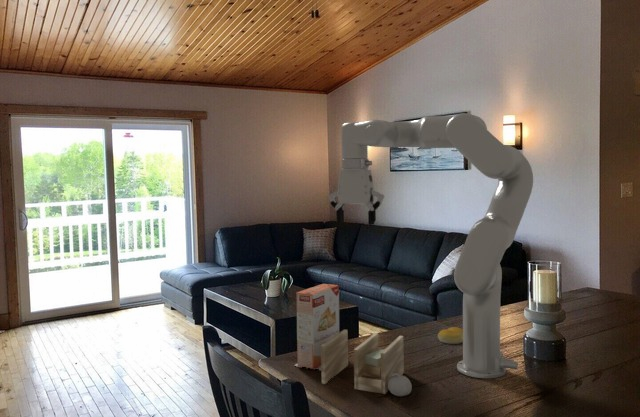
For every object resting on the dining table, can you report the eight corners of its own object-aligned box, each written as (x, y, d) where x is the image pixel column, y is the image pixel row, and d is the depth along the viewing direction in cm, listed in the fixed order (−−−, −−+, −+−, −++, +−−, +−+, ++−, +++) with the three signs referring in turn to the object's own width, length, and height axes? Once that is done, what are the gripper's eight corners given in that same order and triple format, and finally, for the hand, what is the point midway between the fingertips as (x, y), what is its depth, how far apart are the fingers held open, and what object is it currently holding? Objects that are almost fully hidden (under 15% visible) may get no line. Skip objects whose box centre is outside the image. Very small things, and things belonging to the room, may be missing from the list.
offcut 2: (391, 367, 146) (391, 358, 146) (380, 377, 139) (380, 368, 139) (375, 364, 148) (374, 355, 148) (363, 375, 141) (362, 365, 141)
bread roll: (432, 340, 177) (432, 327, 177) (453, 335, 181) (453, 323, 181) (451, 346, 170) (451, 334, 170) (472, 341, 174) (472, 329, 174)
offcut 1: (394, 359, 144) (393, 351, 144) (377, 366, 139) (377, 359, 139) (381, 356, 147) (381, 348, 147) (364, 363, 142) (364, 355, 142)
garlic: (383, 396, 134) (382, 374, 134) (393, 388, 139) (392, 367, 138) (406, 401, 131) (405, 379, 130) (415, 393, 135) (415, 372, 135)
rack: (403, 373, 149) (403, 336, 148) (385, 393, 135) (384, 353, 134) (344, 364, 156) (344, 329, 155) (321, 383, 143) (320, 345, 142)
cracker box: (314, 370, 151) (313, 294, 150) (296, 366, 154) (294, 291, 153) (341, 355, 163) (339, 284, 161) (323, 352, 166) (322, 282, 165)
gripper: (387, 164, 162) (388, 223, 163) (333, 165, 170) (334, 222, 171) (378, 164, 156) (379, 225, 157) (322, 166, 163) (323, 224, 164)
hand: (356, 223), depth 164 cm, fingers open, 9 cm apart
